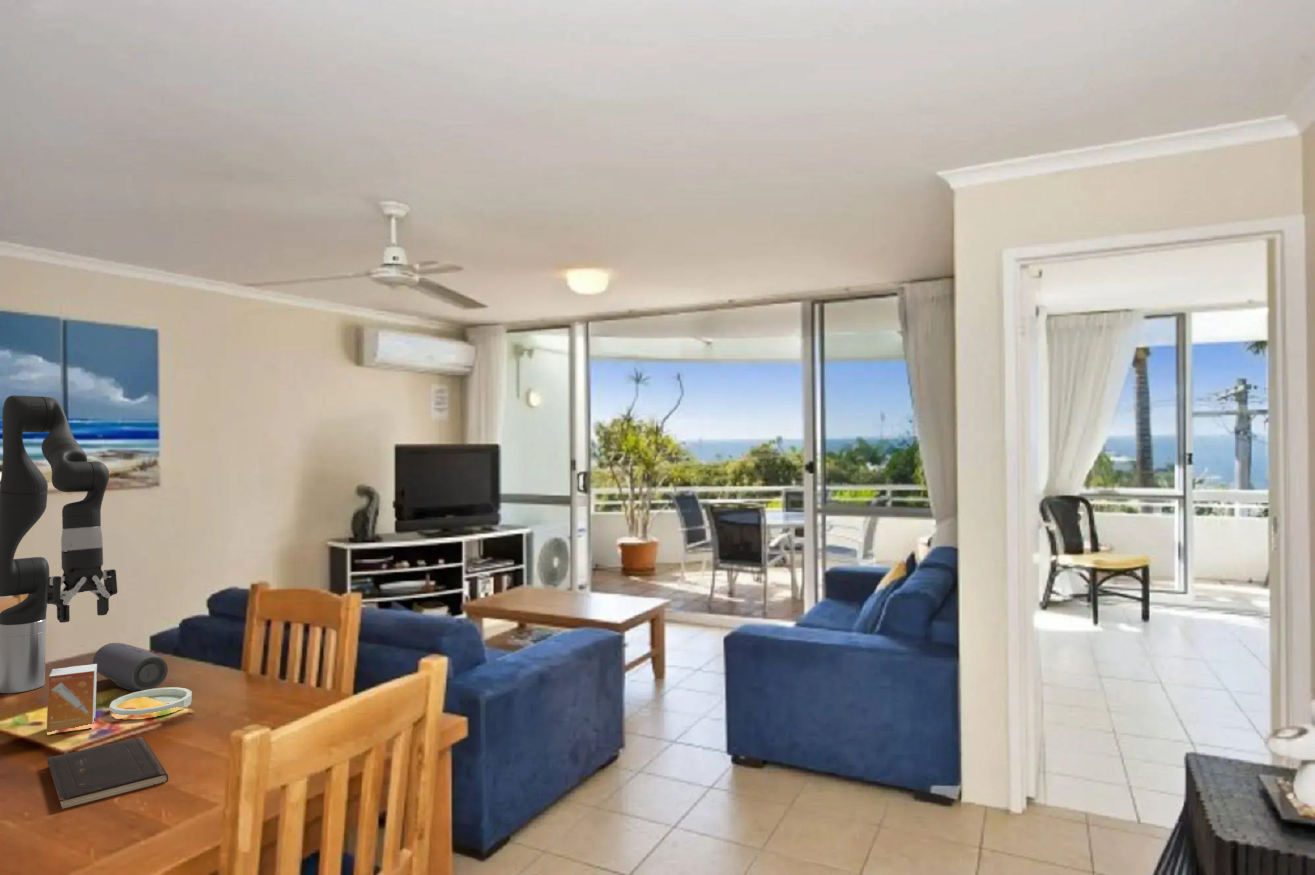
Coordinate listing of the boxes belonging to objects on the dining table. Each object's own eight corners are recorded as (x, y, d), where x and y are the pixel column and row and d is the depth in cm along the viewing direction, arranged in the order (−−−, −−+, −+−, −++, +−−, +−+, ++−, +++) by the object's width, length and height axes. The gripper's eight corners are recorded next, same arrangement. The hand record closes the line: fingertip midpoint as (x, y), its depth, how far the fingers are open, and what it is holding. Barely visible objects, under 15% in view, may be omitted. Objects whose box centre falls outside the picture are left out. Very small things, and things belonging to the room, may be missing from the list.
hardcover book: (59, 813, 127) (59, 800, 127) (46, 769, 144) (46, 757, 144) (168, 784, 138) (168, 772, 138) (144, 747, 155) (145, 736, 155)
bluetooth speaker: (170, 689, 188) (171, 650, 189) (128, 700, 181) (129, 659, 181) (130, 673, 201) (130, 637, 201) (89, 682, 193) (90, 644, 193)
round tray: (116, 702, 179) (116, 693, 179) (193, 692, 186) (193, 683, 186) (104, 724, 165) (104, 715, 165) (188, 713, 172) (188, 704, 172)
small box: (46, 736, 158) (47, 676, 158) (50, 727, 163) (51, 668, 163) (93, 729, 162) (94, 670, 162) (96, 720, 168) (97, 663, 168)
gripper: (100, 545, 177) (102, 613, 175) (36, 551, 163) (38, 625, 162) (124, 544, 175) (126, 612, 174) (62, 549, 161) (63, 624, 160)
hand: (83, 618), depth 168 cm, fingers open, 8 cm apart
